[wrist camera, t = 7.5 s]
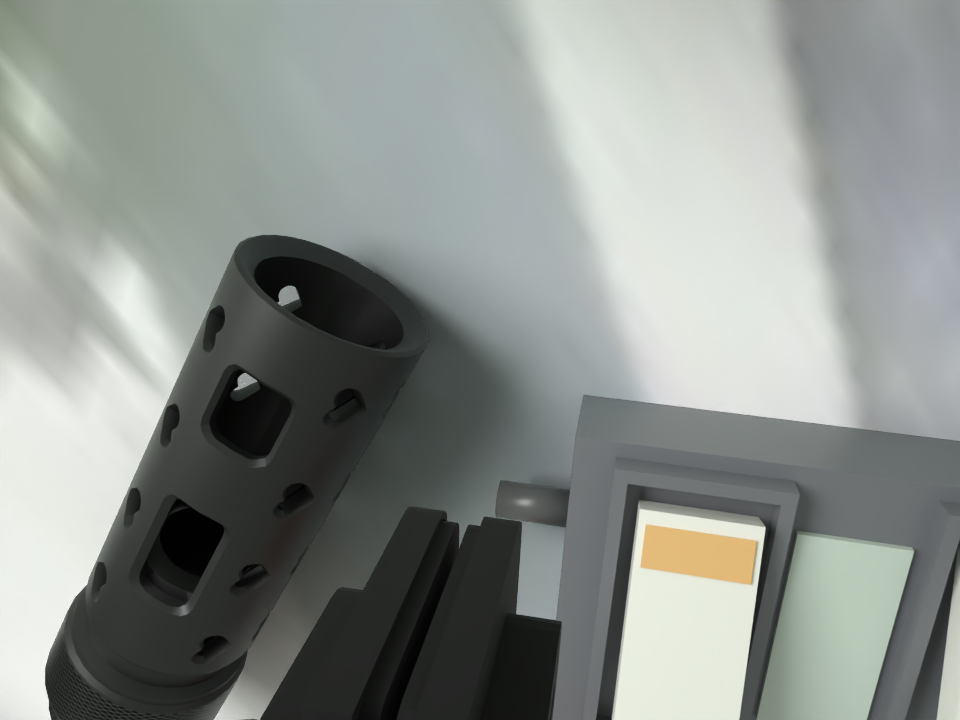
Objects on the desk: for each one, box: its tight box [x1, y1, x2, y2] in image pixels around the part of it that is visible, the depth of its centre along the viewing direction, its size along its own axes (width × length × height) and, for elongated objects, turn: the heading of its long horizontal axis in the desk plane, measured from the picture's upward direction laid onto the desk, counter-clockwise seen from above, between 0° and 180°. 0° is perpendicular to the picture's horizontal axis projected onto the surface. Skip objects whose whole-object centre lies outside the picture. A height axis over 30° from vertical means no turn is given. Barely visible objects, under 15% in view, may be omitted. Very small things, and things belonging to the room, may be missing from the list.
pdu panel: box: [495, 395, 960, 720], centre depth 36 cm, size 16×28×6 cm, turn 87°
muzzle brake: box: [45, 235, 429, 720], centre depth 39 cm, size 10×28×10 cm, turn 150°
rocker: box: [612, 500, 766, 720], centre depth 33 cm, size 12×5×2 cm, turn 177°
